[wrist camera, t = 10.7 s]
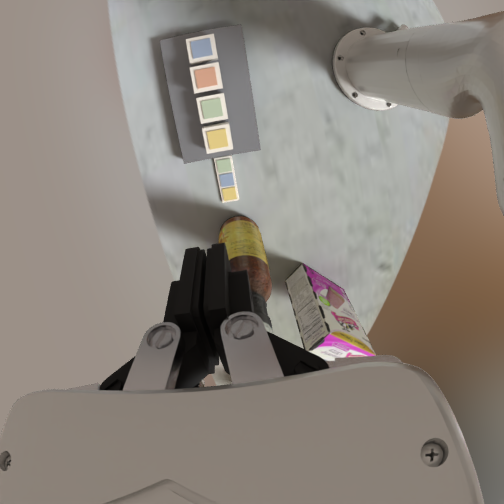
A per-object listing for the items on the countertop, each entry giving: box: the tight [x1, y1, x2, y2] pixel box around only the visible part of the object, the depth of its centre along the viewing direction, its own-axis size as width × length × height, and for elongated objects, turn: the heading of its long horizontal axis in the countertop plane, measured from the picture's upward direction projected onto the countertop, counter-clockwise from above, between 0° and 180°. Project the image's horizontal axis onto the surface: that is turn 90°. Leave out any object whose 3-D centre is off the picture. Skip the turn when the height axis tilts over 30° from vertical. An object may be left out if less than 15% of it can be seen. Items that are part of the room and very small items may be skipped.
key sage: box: [196, 93, 228, 124], centre depth 32 cm, size 3×3×4 cm
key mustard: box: [202, 122, 233, 154], centre depth 34 cm, size 3×3×4 cm
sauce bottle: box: [219, 216, 272, 333], centre depth 36 cm, size 7×6×20 cm
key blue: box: [186, 34, 218, 65], centre depth 28 cm, size 3×3×4 cm
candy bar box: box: [285, 263, 375, 361], centre depth 44 cm, size 11×5×16 cm, turn 53°
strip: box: [214, 155, 239, 203], centre depth 40 cm, size 7×2×1 cm, turn 8°
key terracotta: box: [190, 62, 223, 94], centre depth 29 cm, size 3×3×4 cm
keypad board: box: [160, 25, 261, 164], centre depth 32 cm, size 17×10×2 cm, turn 8°
